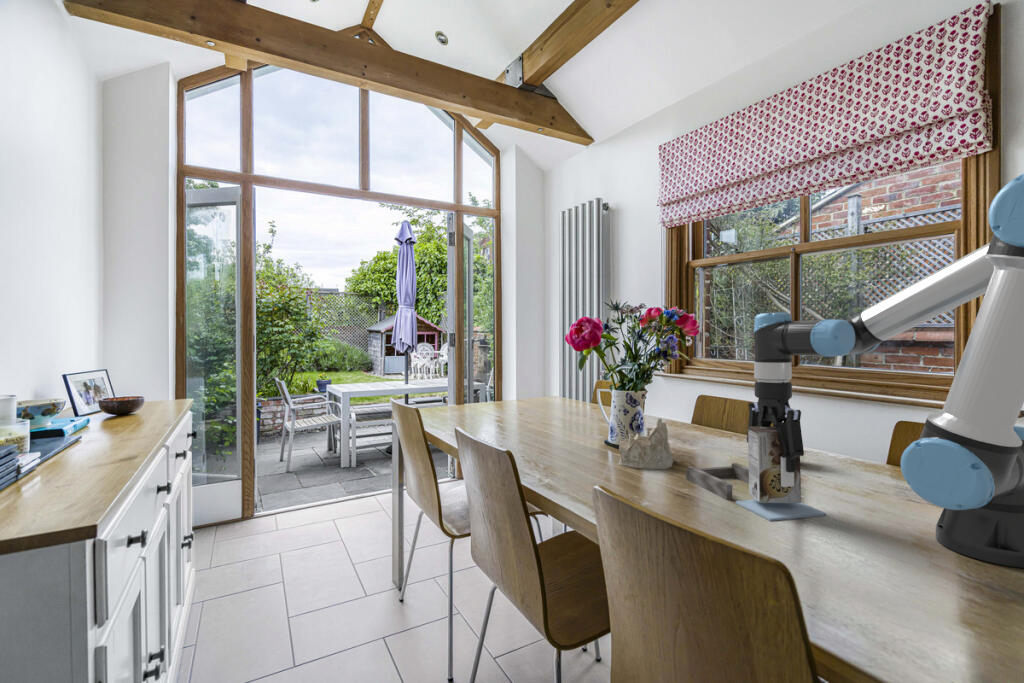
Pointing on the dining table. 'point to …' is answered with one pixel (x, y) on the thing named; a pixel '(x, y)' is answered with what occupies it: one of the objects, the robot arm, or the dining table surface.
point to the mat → (780, 510)
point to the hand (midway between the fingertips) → (773, 480)
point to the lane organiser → (717, 478)
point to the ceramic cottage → (647, 449)
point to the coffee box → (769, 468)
